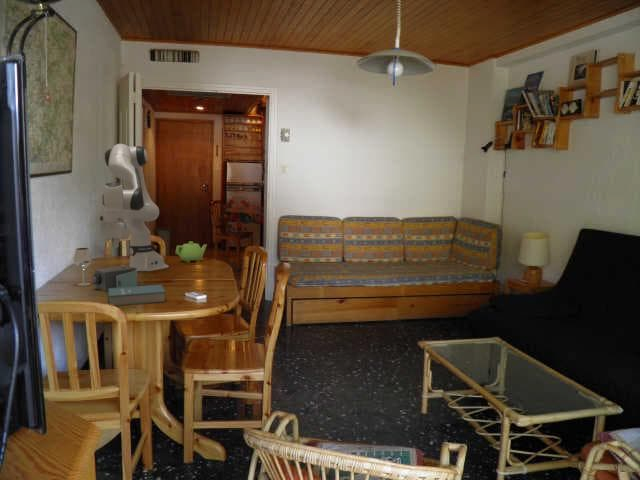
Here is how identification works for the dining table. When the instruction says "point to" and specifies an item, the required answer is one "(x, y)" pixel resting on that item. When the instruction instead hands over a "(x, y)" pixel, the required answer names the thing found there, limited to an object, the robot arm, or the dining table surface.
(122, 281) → the side door
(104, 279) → the housing
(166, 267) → the robot arm
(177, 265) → the dining table surface
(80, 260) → the wineglass
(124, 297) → the book
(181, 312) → the dining table surface
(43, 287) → the dining table surface
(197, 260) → the teapot
